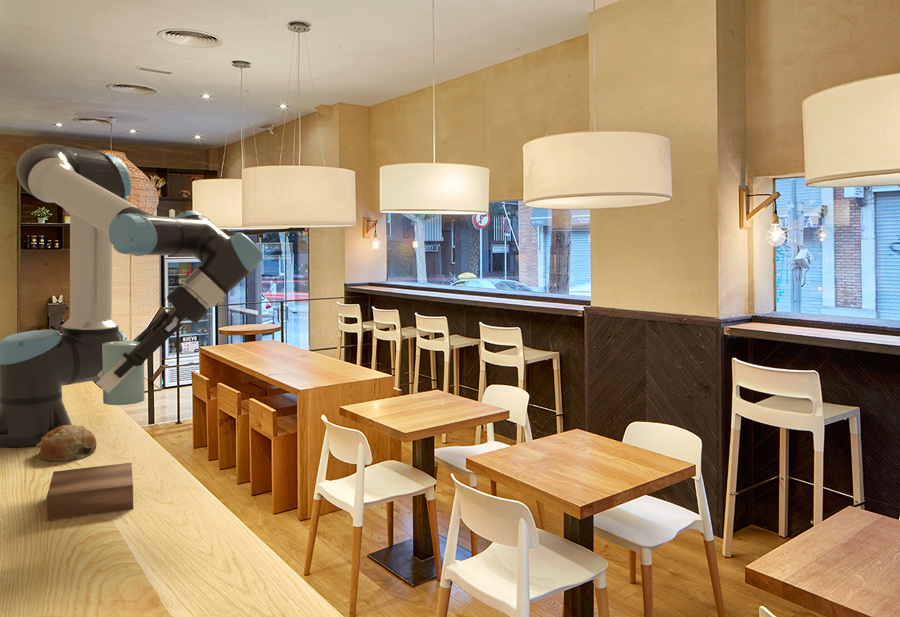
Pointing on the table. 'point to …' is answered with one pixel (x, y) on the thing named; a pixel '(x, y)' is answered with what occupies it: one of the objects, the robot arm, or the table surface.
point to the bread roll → (67, 443)
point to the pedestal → (90, 491)
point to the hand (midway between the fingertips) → (102, 383)
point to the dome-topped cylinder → (132, 384)
